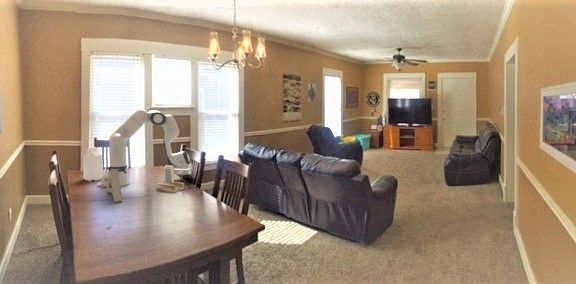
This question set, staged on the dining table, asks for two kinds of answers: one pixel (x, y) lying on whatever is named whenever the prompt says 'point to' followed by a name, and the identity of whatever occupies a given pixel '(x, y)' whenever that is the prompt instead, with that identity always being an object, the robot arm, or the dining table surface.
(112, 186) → the wall bracket
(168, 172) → the white grey box
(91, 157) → the milk
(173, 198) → the dining table surface
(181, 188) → the stand
